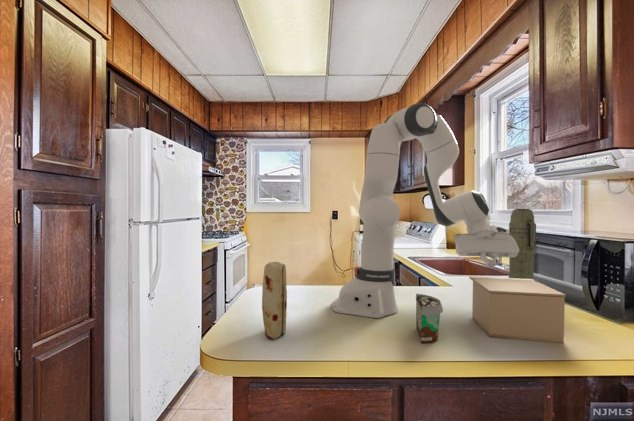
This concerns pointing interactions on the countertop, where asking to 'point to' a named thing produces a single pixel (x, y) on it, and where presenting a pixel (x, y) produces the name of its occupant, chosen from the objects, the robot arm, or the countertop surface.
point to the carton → (519, 315)
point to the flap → (515, 286)
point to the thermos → (523, 244)
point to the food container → (427, 318)
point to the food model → (274, 299)
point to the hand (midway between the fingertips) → (491, 265)
